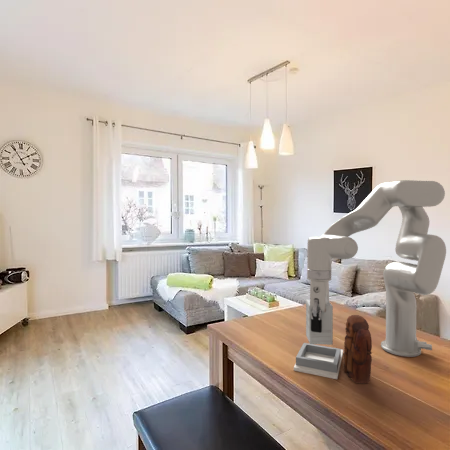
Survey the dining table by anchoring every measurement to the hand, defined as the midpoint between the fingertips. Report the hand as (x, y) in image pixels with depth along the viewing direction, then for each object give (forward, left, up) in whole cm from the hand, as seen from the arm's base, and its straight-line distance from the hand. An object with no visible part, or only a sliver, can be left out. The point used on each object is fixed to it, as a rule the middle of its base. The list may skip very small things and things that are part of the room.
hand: (318, 326), depth 102 cm
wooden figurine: (-12, +3, -12) cm, 17 cm away
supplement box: (0, 0, -5) cm, 5 cm away
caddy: (0, -2, -12) cm, 12 cm away
